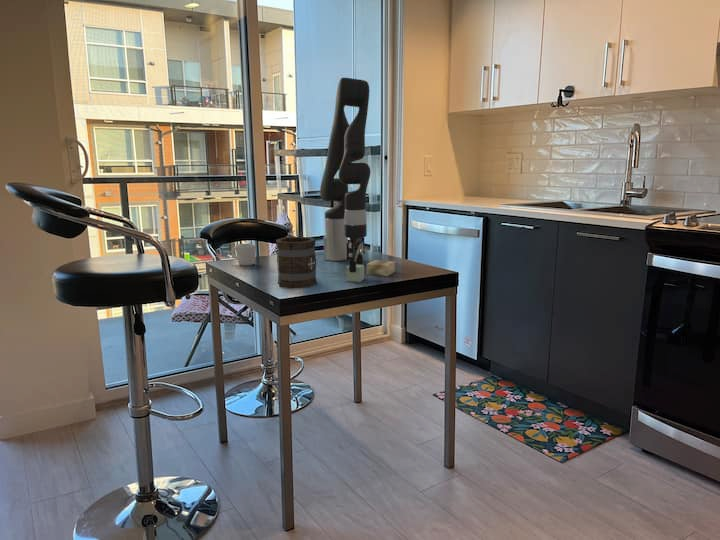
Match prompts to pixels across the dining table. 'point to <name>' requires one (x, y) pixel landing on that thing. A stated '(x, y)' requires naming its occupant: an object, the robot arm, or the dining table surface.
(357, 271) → the sage cube
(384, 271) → the maple block
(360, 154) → the robot arm
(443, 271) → the dining table surface
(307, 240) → the mug
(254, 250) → the cup
